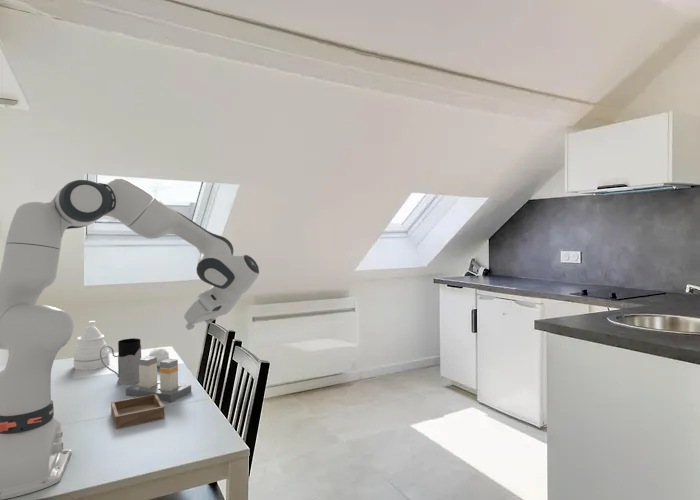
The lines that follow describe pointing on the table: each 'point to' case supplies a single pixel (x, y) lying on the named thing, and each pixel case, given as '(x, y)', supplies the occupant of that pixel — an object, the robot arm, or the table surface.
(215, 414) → the table surface
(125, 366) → the grey mug
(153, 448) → the table surface
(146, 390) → the fuse block
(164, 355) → the ball
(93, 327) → the honey pot
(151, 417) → the tray
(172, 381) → the block
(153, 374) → the block
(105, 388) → the table surface
